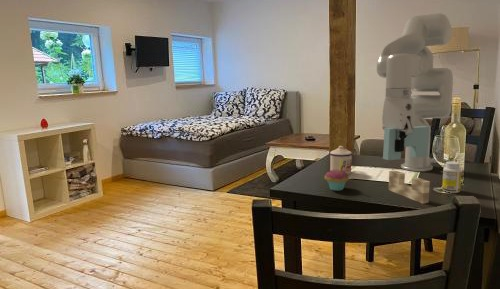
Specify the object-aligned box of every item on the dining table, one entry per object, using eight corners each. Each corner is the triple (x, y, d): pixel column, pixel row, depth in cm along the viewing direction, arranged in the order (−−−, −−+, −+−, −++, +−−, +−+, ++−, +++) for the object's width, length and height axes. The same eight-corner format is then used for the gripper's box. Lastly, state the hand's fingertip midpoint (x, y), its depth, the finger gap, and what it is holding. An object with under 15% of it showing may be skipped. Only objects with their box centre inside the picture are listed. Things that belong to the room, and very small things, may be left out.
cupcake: (344, 185, 140) (345, 154, 138) (351, 191, 132) (352, 159, 130) (322, 186, 140) (322, 155, 138) (327, 192, 132) (327, 160, 129)
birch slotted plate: (388, 189, 133) (389, 171, 131) (394, 189, 133) (394, 170, 132) (422, 203, 118) (423, 182, 116) (428, 202, 118) (429, 181, 117)
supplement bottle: (453, 188, 132) (455, 160, 130) (463, 193, 127) (465, 163, 125) (438, 189, 131) (440, 161, 130) (448, 194, 126) (450, 164, 124)
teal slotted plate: (421, 155, 126) (423, 126, 124) (427, 156, 124) (429, 126, 122) (382, 158, 121) (384, 128, 119) (387, 160, 119) (389, 129, 117)
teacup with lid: (343, 177, 151) (343, 149, 149) (325, 173, 158) (325, 146, 156) (360, 171, 159) (360, 144, 157) (342, 168, 166) (342, 142, 164)
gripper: (427, 94, 111) (423, 154, 114) (390, 92, 126) (388, 145, 129) (406, 95, 109) (404, 156, 112) (372, 93, 124) (370, 147, 127)
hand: (395, 150), depth 121 cm, fingers closed on teal slotted plate, 2 cm apart
